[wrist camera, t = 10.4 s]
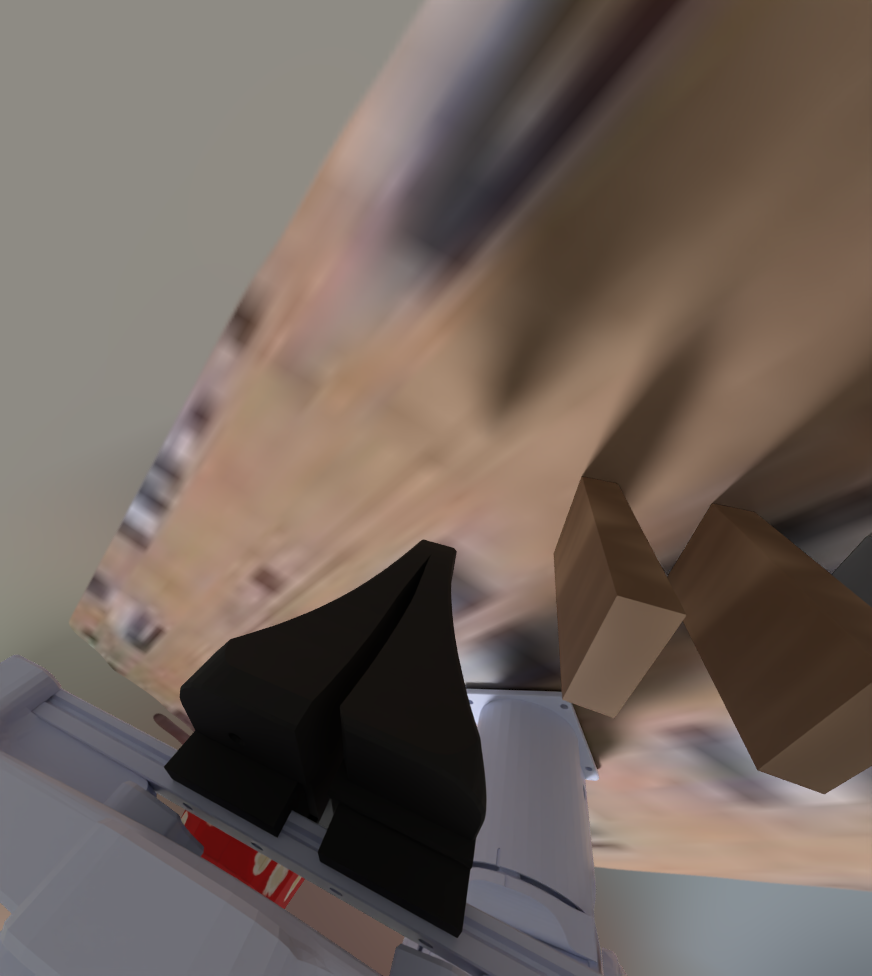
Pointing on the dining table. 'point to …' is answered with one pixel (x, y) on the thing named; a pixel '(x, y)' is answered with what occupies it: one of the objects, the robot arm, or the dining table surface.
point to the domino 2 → (780, 648)
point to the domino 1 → (608, 600)
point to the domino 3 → (858, 571)
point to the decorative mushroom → (244, 861)
